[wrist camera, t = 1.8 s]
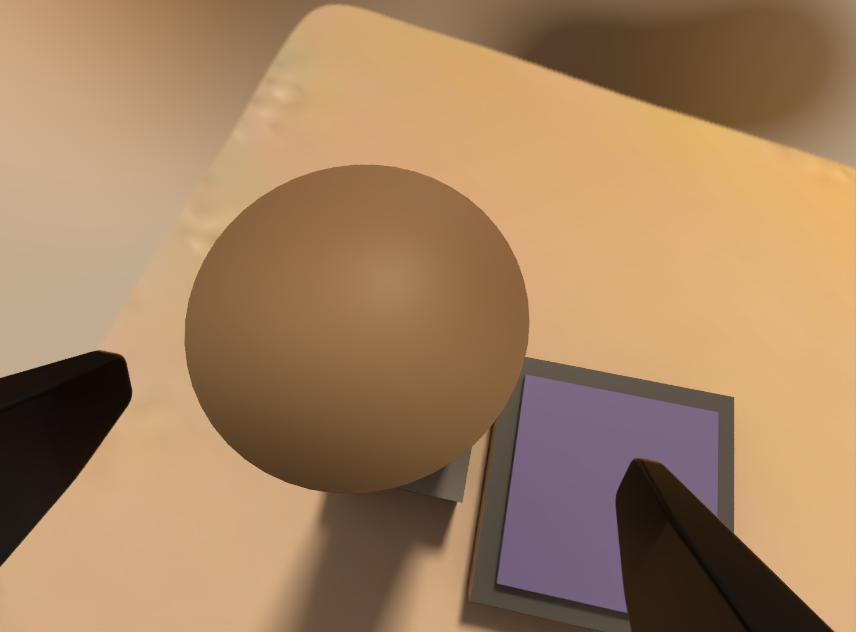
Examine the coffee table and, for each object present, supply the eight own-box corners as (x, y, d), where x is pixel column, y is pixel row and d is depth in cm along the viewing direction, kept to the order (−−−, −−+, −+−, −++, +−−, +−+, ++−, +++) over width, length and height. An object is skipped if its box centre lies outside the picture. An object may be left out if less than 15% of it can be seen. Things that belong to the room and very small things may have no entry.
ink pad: (714, 648, 15) (740, 665, 14) (467, 592, 15) (470, 603, 14) (717, 400, 17) (739, 396, 16) (503, 359, 18) (509, 351, 16)
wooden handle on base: (458, 498, 16) (553, 610, 4) (336, 471, 16) (54, 496, 4) (479, 375, 17) (599, 162, 5) (365, 353, 18) (220, 99, 5)
